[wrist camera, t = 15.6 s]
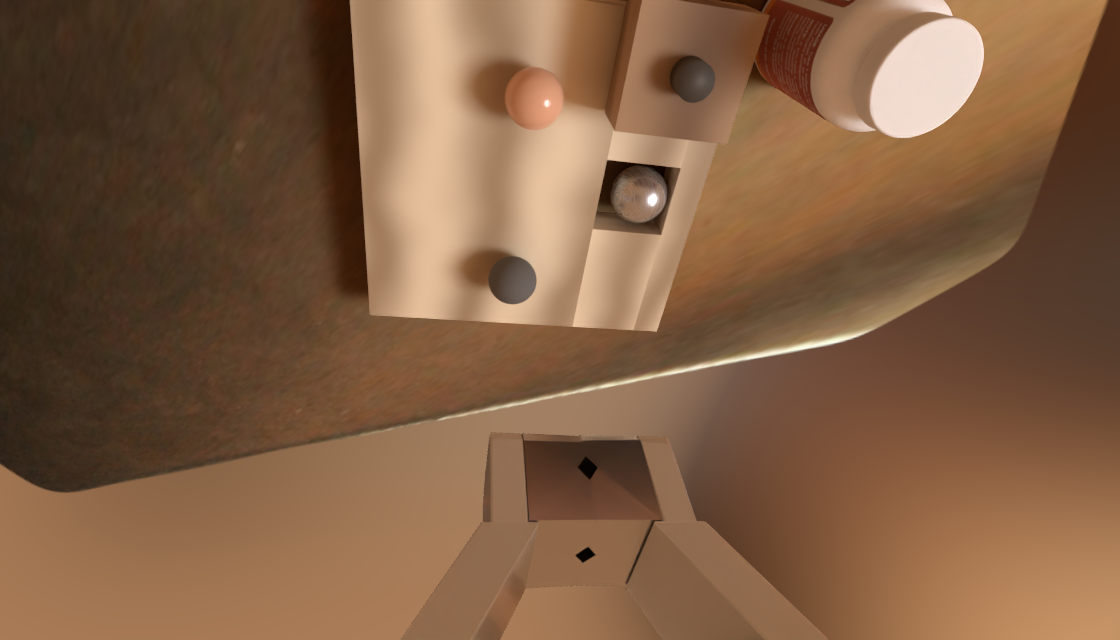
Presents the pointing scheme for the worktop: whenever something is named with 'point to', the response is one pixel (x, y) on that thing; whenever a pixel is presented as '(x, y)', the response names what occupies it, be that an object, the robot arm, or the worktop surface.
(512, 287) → the black rubber ball
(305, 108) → the worktop surface
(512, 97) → the terracotta ball
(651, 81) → the cover
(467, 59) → the board
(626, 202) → the steel ball
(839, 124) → the pill bottle
